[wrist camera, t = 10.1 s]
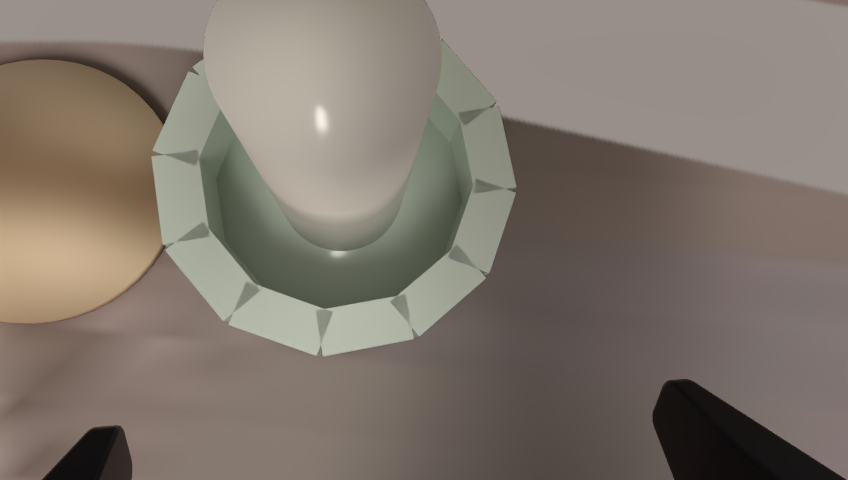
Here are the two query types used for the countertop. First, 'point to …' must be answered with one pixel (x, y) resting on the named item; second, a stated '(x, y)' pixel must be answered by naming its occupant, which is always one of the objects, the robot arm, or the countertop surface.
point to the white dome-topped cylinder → (327, 104)
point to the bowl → (326, 269)
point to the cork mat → (73, 190)
